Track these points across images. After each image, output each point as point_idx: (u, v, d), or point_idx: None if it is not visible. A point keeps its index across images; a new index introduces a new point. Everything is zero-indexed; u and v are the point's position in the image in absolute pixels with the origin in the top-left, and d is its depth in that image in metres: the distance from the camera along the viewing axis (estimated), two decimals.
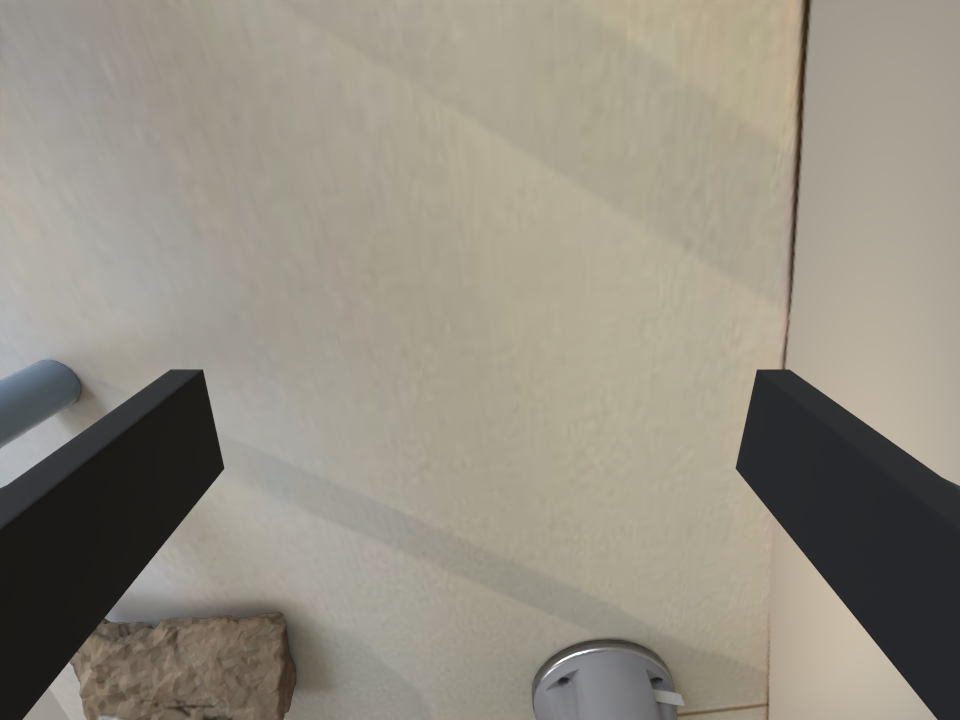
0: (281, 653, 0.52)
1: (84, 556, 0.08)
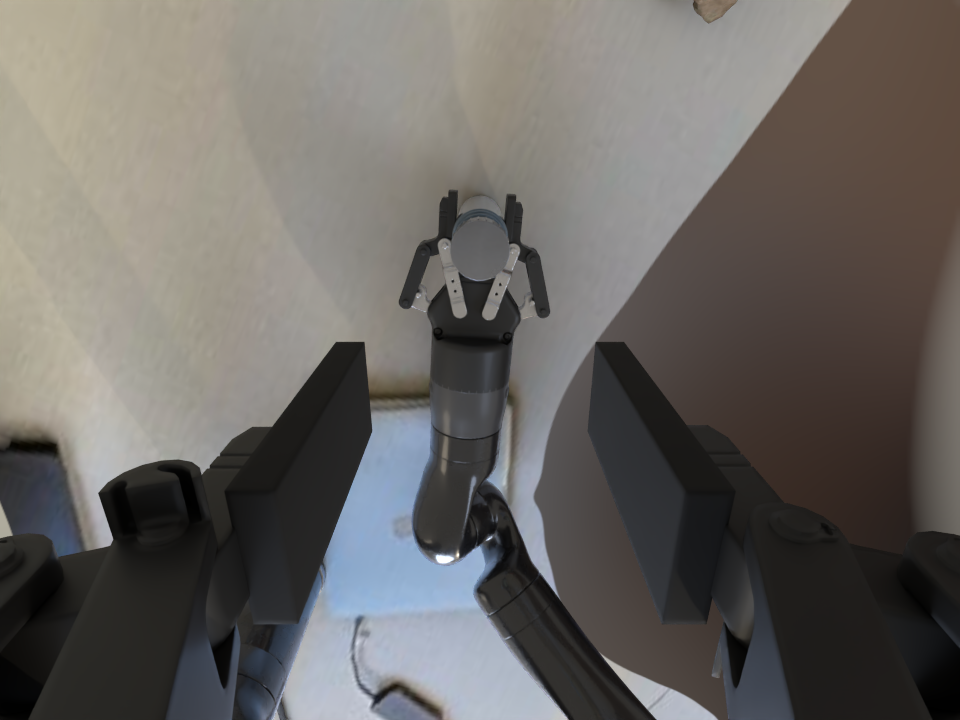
0: None
1: (323, 487, 0.10)
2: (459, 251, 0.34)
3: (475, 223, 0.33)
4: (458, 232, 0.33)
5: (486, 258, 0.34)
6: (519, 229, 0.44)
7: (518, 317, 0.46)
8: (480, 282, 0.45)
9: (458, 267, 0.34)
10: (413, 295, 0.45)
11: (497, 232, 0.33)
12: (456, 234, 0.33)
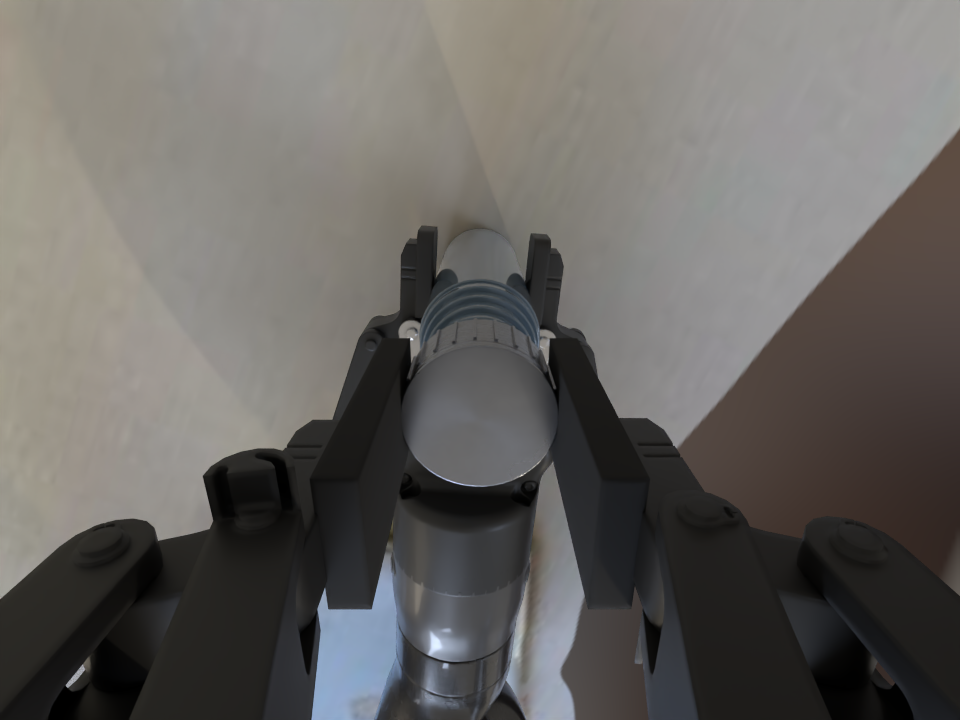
0: None
1: (385, 477, 0.10)
2: (424, 420, 0.13)
3: (467, 352, 0.12)
4: (420, 374, 0.12)
5: (497, 436, 0.13)
6: (555, 302, 0.23)
7: (550, 455, 0.25)
8: None
9: (423, 457, 0.13)
10: None
11: (527, 374, 0.12)
12: (415, 379, 0.12)
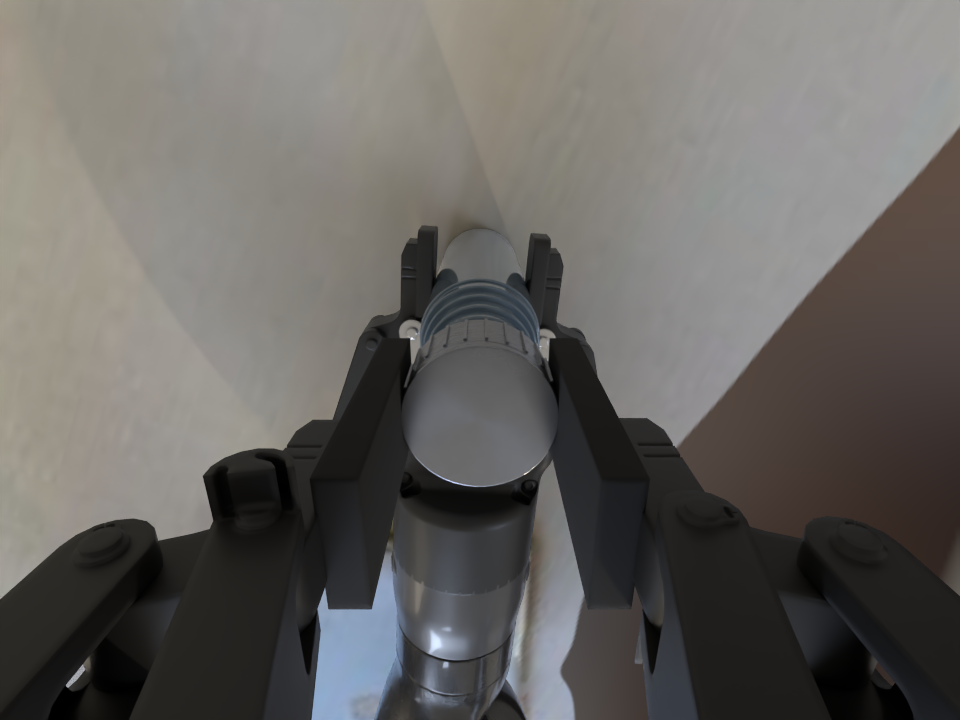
0: None
1: (386, 477, 0.10)
2: (499, 464, 0.13)
3: (418, 453, 0.13)
4: (456, 480, 0.13)
5: (490, 399, 0.12)
6: (555, 301, 0.23)
7: (549, 454, 0.26)
8: None
9: (540, 452, 0.13)
10: None
11: (415, 399, 0.12)
12: (463, 482, 0.13)
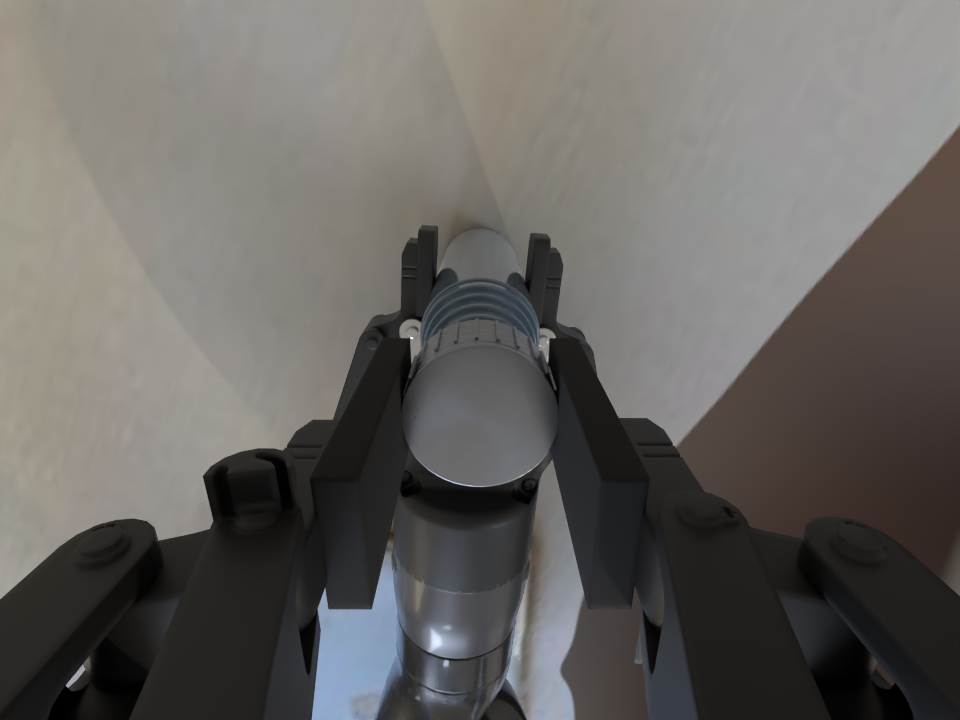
0: None
1: (386, 477, 0.10)
2: (520, 386, 0.12)
3: (537, 458, 0.13)
4: (555, 417, 0.13)
5: (454, 420, 0.13)
6: (555, 301, 0.23)
7: (549, 453, 0.26)
8: None
9: (492, 353, 0.12)
10: None
11: (481, 477, 0.13)
12: (556, 410, 0.12)
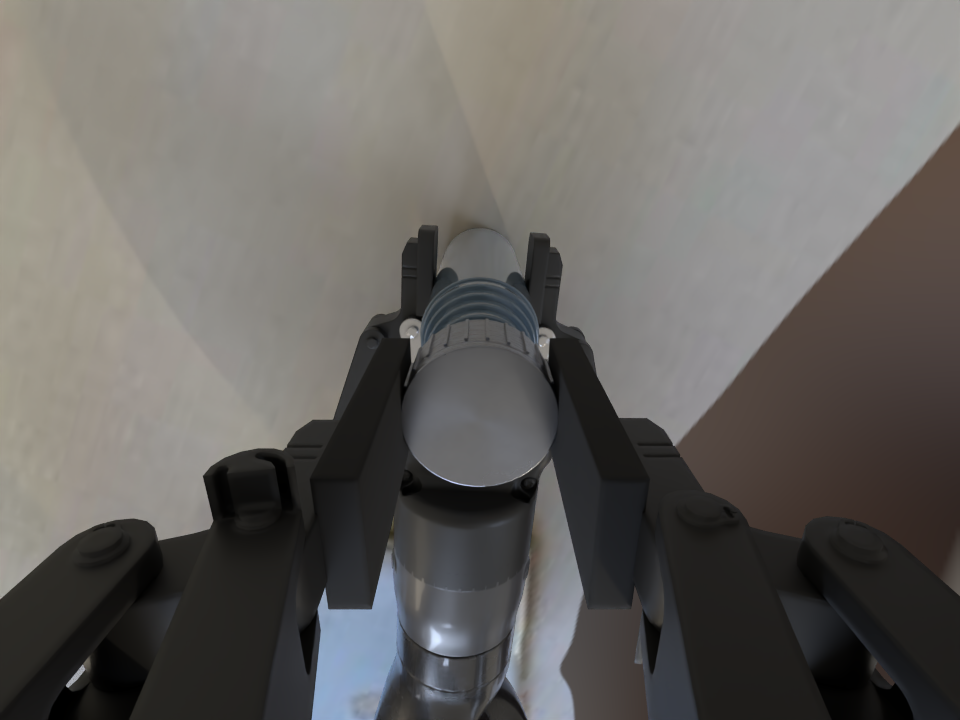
0: None
1: (386, 477, 0.10)
2: (428, 400, 0.12)
3: (499, 354, 0.12)
4: (446, 357, 0.12)
5: (488, 441, 0.13)
6: (554, 300, 0.23)
7: (549, 452, 0.26)
8: None
9: (409, 434, 0.13)
10: None
11: (543, 396, 0.12)
12: (438, 359, 0.12)
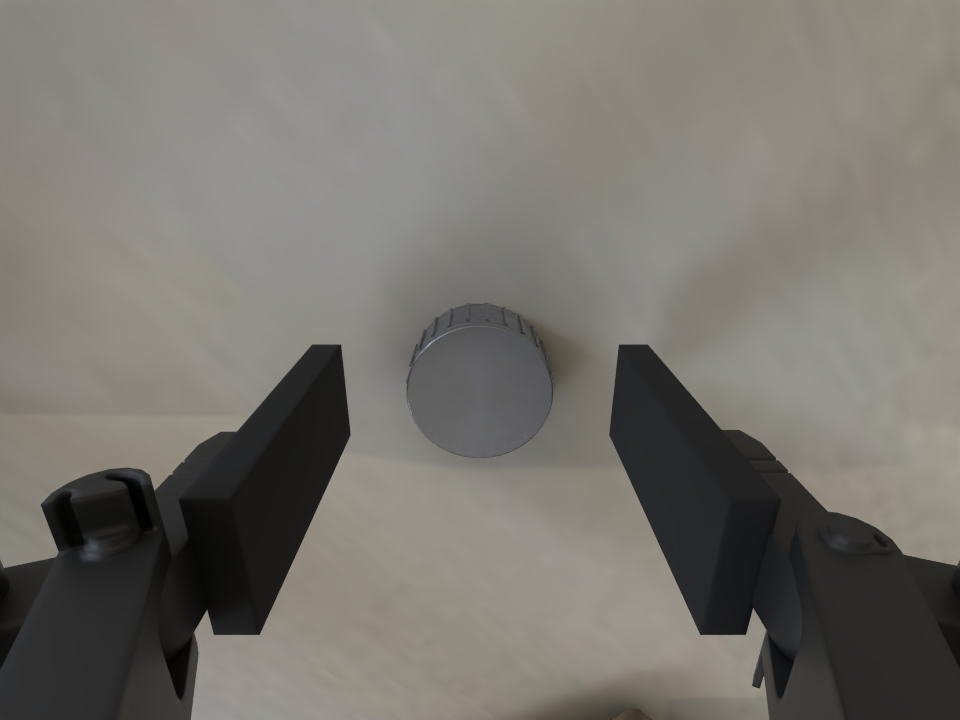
0: None
1: (290, 493, 0.10)
2: (432, 377, 0.13)
3: (497, 333, 0.13)
4: (449, 336, 0.13)
5: (488, 414, 0.14)
6: None
7: None
8: None
9: (415, 408, 0.14)
10: None
11: (538, 372, 0.13)
12: (442, 338, 0.13)
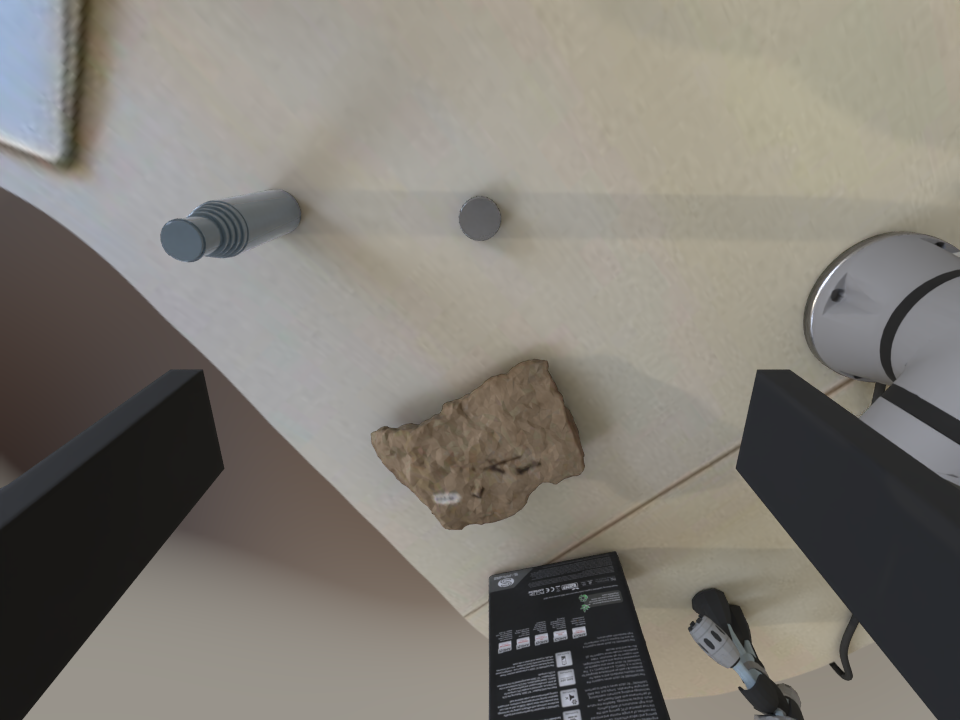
0: (555, 389, 0.55)
1: (84, 556, 0.08)
2: (466, 213, 0.48)
3: (484, 200, 0.48)
4: (471, 201, 0.48)
5: (482, 226, 0.49)
6: None
7: None
8: None
9: (461, 224, 0.49)
10: None
11: (496, 212, 0.48)
12: (469, 202, 0.48)
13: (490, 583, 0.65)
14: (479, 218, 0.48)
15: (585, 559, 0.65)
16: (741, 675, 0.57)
